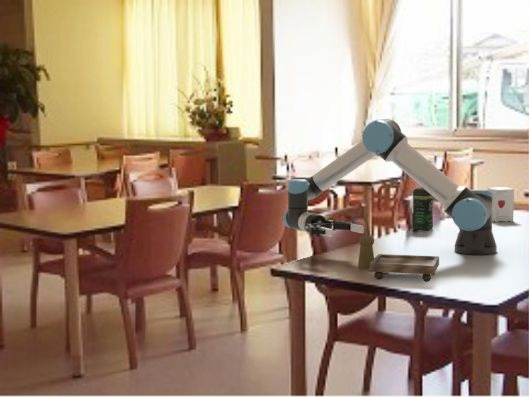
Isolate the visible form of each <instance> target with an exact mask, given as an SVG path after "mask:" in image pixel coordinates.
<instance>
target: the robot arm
mask: <svg viewBox="0 0 529 397" xmlns="http://www.w3.org/2000/svg"><path fill="white" fill-rule="evenodd" d="M361 138H362V139H361V140H360V142H358V143H356V144H355V145H354V146H352V147H351V148H349V149H348V150H347V151H346V152H344V153H342V154H341V155H339V156H338V157H337V158H336V159H334V160H332V161H331V162H330V163H329V164H326V165H325V167H323V168H322V169H320V170H319V171H317V172H316V173H315V174H313V175H312V176H310V177H308V178H307V179H303V178H293V179H290V180H289V181H288V184H287V185H288V186H287V197H288V198H287V202H288V204H287V206H288V208H287V210H285V212H284V214H283V216H282V221H283V224H284V225H285V226H286V227H287V228H289V229H291V230H294V231H296V230H297V231H300V232H305V233H306V234H307V235H309V234H310V235H311V236H314V235H315V237H319V238H320V236H324V237H327V238H328V237H329V238H334V231H336V230H338V231H339V230H342V231H351V232H355V233H358V234H364V231H365V229H364V225H363V224H362V225H361V224H358V223H357V222H355V220H353V221H340V220H328V219H326V218H325V217H324V216H323V215H322V214H318V213H314V212H309V211H308V210H309V202H308V201H311V200H314V199H316V198H317V197H318V196H319V195H321V194H322V193H323V192H324V191H326V190H327V189H329V188H330V187H332V186H333V185H335V184H336V183H337V182H339V181H341V180H342V179H343V178H345V177H346V176H347V175H349V174H351V173H353V171H355V170H356V169H358V168H360V166H362V165H363V164H364V163H367V162H368V161H369V160H371V159H372V158H373V157H380V158H381V159H382V160H383V161H385V162H387V163H388V162H392V163H394V165H396V166H397V167H398V168H399V169H401V170H402V171H403V172H404V173H405V174H406V175H407V176H408V177H410V179H412V180H413V181H415V182H416V183H417V184H418V185H419V186H420V187H423V188H424V189H425V190H426V191H427V192H429V193H430V194H431V195H432V196H433V198H435V199H436V200H437V202H439V203H440V204H442V206H443V207H442V208H443V211H444V213H445V214H447V215H448V216H449V217H450V218H451V219H452V221H453V223H454V224H455V226H456V227H457V228H458V227H459V228H460V229H459V228H458V229H459V232H458V234H457V238H456V239H455V243H454V252H455V253H458V254H463V255H473V256H475V255H476V256H484V255H493V254H496V253H497V251H498V250H497V249H498V248H497V246H498V245H497V243H496V240H495V237H494V234H493V221H492V200H493V197H492V192H491V191H489V190H487V189H486V190H485V189H484V190H483V189H481V190H480V189H469V188H468V187H467V186H459V185H458V184H456V182H454V181H453V180H452V178H451V179H450V177H449V176H447V175H446V174H445V173H444V172H442V171H441V170H440V169H439V168H437V166H435V165H434V164H433V163H432V162H431V161H429V160H428V159H427V158H426V157H425V156H424V155H422V153H420V152H419V151H418V150H417V149H415V148H414V146H411V144H410V143H408V140H409V139H408V136H406V135H405V134H404V133H403V132H402V129H401V126H399V124H398V123H397V122H396V121H394V120H393V119H390V118H383V119H375V120H372V121H371V122H370V123H368V124H367V125H366V126H365V128H364V129H363V131H362V137H361Z"/></svg>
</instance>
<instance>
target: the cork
mask: <svg viewBox="0 0 529 397" xmlns="http://www.w3.org/2000/svg"><path fill="white" fill-rule="evenodd" d="M358 243H359V245H360V246H359V254H358V261H357V268H358V269H361V270H370V263H371V261H372V260H373V259H374V258H375V254H374V248H373V247H374V244H375V239H374V236H372V235H361V236H359V238H358Z"/></svg>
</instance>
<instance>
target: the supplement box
mask: <svg viewBox="0 0 529 397" xmlns="http://www.w3.org/2000/svg"><path fill="white" fill-rule="evenodd" d="M486 190H489V191H491V192H492V197H493V200H492V222H494V221H495V222H494V223H500V222H499V221H510V222H514V207H515V205H514V203H515V188H511V187H505V186H496V187H487V189H486Z"/></svg>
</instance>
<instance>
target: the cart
mask: <svg viewBox="0 0 529 397" xmlns="http://www.w3.org/2000/svg"><path fill="white" fill-rule="evenodd" d="M439 266H440V256H436V255H435V256H434V255H413V254H412V255H410V254H391V253H390V254H387V253H385V254H383V253H378V254H377V255H376V256H374V259H373V260H372V261H371V263H370V269H369V272H371V273H374V274H373V275H374V278H375V280H379V281H381V280H383V279H384V277H385V274H384V273H386V274H387V273H389V274H390V273H392V274H411V275H421V280H422V281H423V282H424V283H429V282H431V280H432V276H433V275H435V273H436V271H437V270H438V268H439Z"/></svg>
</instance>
